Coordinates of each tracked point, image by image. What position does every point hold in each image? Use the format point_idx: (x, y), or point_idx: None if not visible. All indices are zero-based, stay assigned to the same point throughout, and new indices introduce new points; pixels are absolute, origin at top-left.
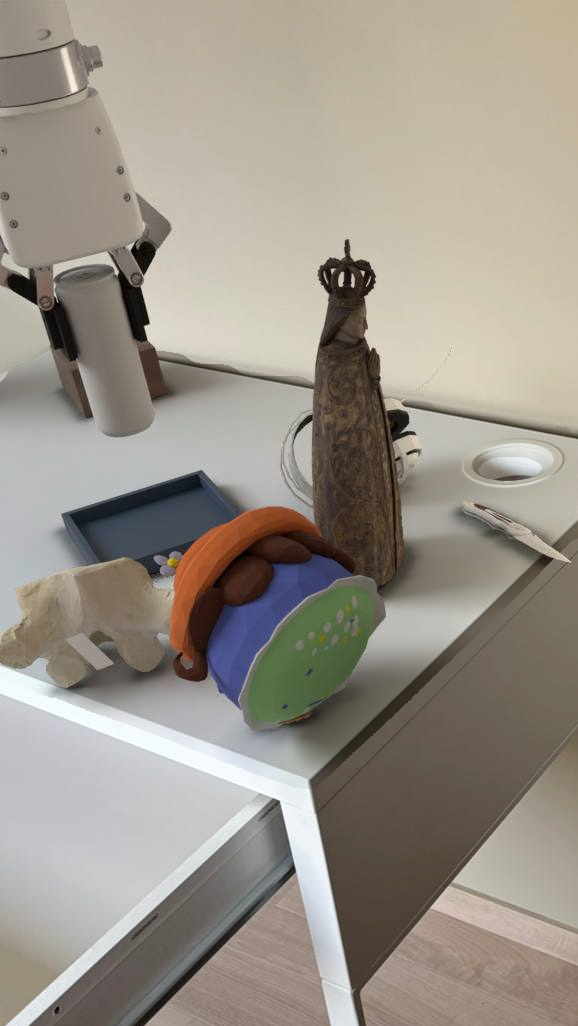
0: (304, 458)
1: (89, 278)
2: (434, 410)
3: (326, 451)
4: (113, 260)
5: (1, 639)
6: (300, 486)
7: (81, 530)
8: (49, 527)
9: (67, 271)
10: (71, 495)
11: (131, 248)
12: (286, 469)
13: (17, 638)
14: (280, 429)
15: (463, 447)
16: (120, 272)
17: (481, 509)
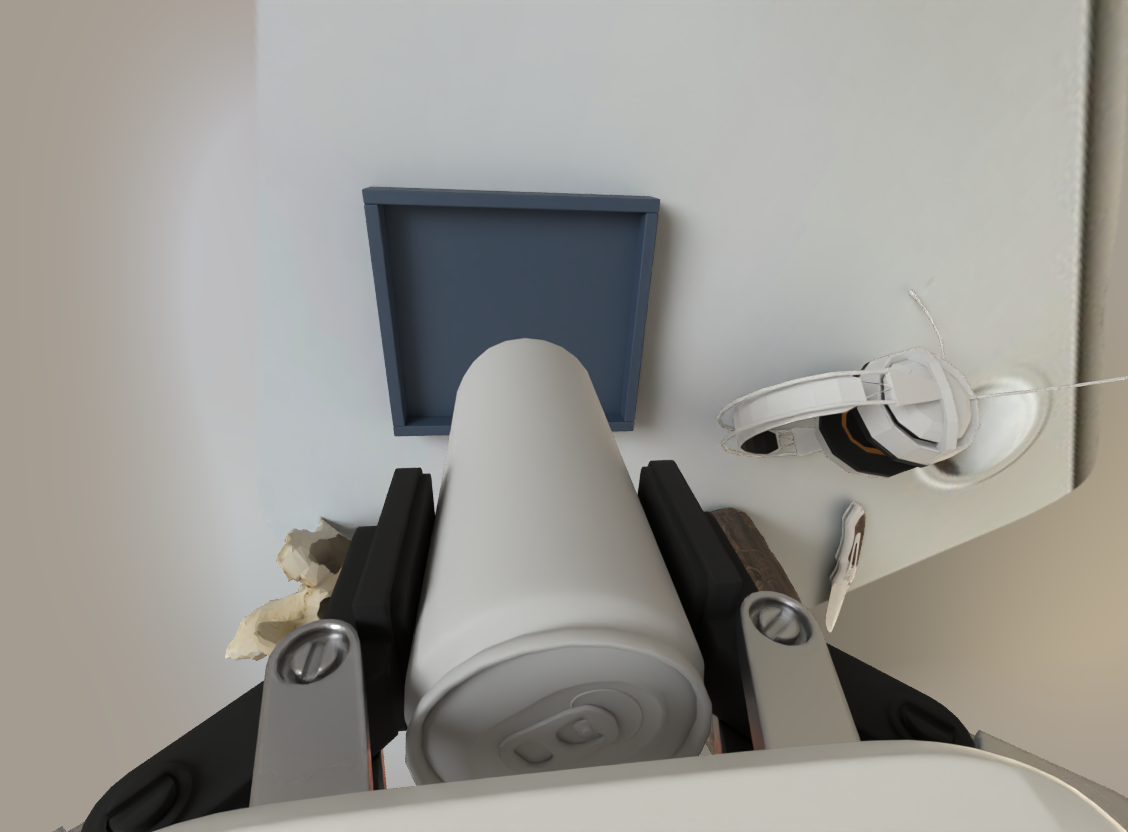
0: (830, 213)
1: (571, 768)
2: (1089, 195)
3: (711, 753)
4: (749, 707)
5: (237, 659)
6: (734, 417)
7: (395, 231)
8: (338, 141)
9: (509, 658)
10: (404, 5)
11: (873, 735)
12: (731, 436)
13: (258, 659)
14: (891, 34)
15: (989, 353)
16: (733, 673)
17: (855, 532)
